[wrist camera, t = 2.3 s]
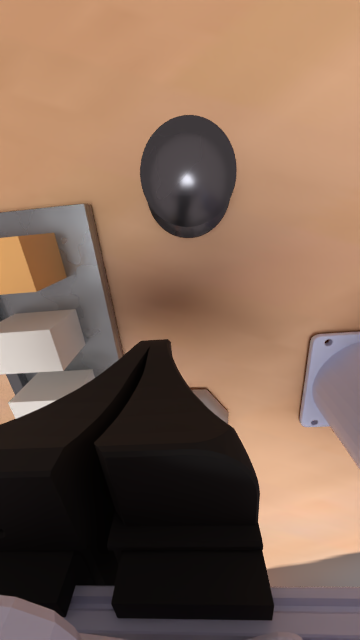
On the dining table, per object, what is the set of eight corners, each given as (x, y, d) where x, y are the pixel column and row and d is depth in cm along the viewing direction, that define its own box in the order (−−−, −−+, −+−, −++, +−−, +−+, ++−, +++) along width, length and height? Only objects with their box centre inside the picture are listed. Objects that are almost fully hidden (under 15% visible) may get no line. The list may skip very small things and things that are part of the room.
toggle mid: (75, 309, 15) (49, 329, 12) (85, 344, 16) (63, 370, 13) (15, 313, 15) (-25, 334, 12) (28, 348, 16) (-6, 374, 13)
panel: (91, 204, 13) (78, 203, 12) (132, 400, 19) (128, 415, 17) (-42, 218, 14) (-69, 218, 12) (36, 404, 19) (24, 419, 18)
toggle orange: (54, 232, 13) (17, 235, 10) (66, 277, 14) (36, 291, 11) (-15, 239, 13) (-68, 244, 10) (3, 283, 14) (-42, 298, 11)
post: (228, 141, 12) (262, 72, 6) (229, 233, 14) (257, 242, 8) (142, 151, 12) (104, 94, 7) (154, 240, 14) (131, 253, 8)
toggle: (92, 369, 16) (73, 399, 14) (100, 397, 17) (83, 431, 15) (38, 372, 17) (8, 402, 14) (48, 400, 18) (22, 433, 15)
